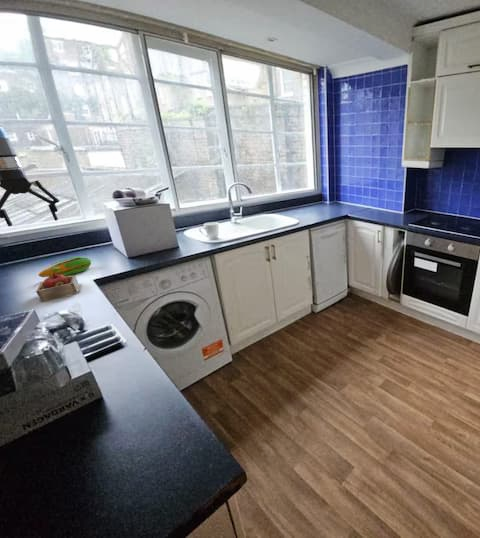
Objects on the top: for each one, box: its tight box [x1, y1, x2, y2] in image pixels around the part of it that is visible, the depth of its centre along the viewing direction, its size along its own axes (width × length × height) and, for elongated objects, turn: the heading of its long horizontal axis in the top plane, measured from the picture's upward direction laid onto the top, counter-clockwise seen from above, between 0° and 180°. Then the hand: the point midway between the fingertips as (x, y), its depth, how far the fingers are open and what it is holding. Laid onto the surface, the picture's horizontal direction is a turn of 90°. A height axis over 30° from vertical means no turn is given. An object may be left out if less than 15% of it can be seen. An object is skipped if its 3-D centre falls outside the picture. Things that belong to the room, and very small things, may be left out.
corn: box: [38, 256, 92, 278], centre depth 143 cm, size 7×8×20 cm
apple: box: [43, 267, 67, 288], centre depth 124 cm, size 8×7×10 cm
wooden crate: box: [35, 274, 80, 303], centre depth 125 cm, size 11×11×5 cm
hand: (34, 222), depth 122 cm, fingers open, 13 cm apart
